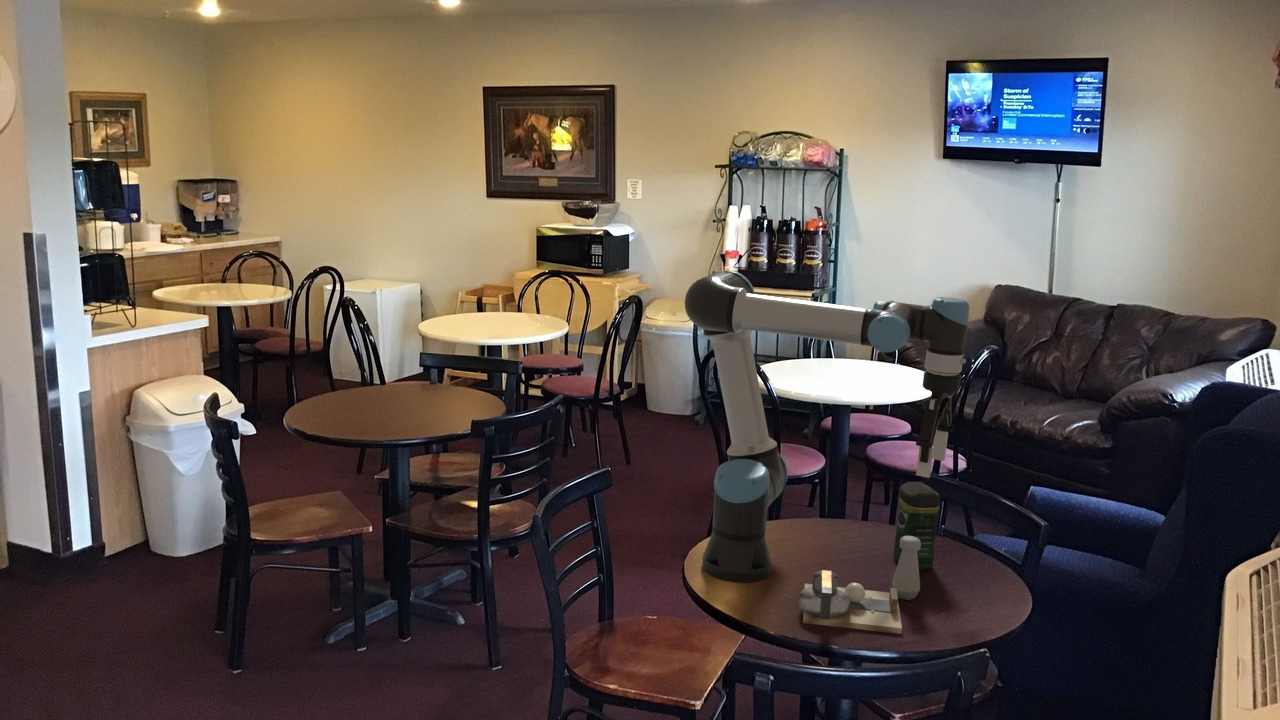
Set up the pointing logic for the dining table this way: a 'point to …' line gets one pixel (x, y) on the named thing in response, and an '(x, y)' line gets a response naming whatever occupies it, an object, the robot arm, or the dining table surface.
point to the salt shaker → (907, 569)
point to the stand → (866, 613)
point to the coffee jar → (918, 520)
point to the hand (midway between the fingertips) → (930, 467)
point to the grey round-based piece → (824, 597)
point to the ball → (855, 592)
